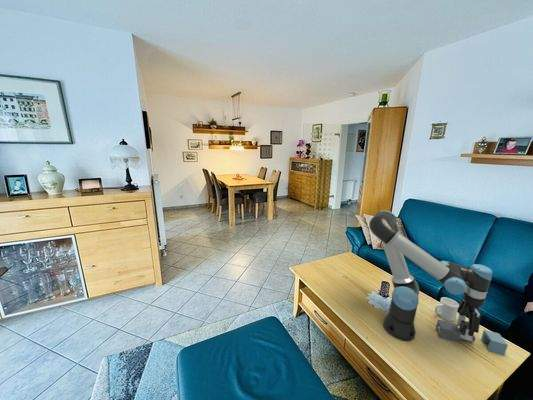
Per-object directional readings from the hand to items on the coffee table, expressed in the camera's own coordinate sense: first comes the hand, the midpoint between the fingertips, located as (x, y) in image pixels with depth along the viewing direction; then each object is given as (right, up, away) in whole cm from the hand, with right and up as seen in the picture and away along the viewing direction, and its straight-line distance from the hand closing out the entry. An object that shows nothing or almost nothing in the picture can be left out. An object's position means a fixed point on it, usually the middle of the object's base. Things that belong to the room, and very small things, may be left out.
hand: (463, 332), depth 114 cm
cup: (+3, -1, +17) cm, 17 cm away
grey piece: (-3, -3, +2) cm, 5 cm away
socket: (+12, -6, -3) cm, 13 cm away
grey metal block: (-6, -4, +3) cm, 8 cm away
